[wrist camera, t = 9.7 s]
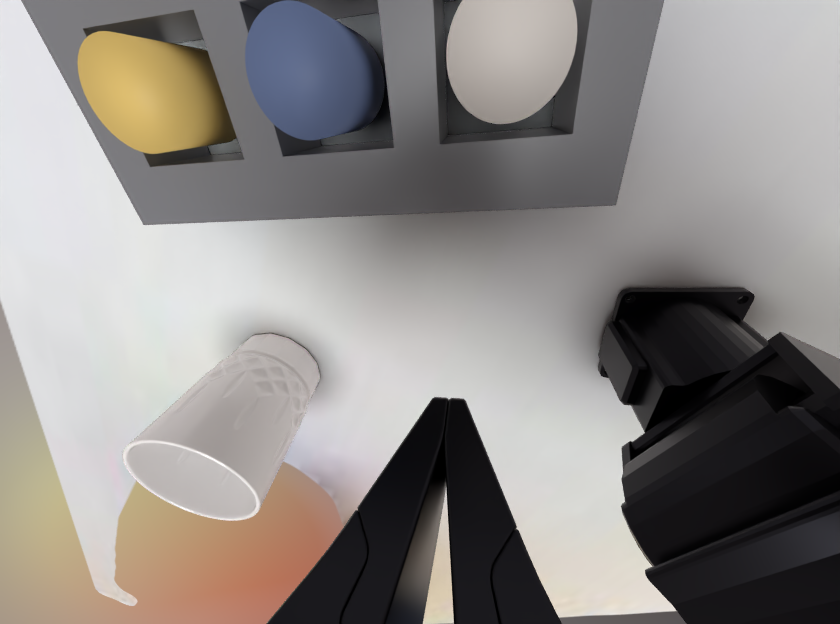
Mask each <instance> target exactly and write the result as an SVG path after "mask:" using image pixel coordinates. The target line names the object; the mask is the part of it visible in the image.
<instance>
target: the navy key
mask: <svg viewBox="0 0 840 624" xmlns="http://www.w3.org/2000/svg"><path fill="white" fill-rule="evenodd" d="M245 65H246V72H247V77H248V81H249V84H250V87H251V90H252V93H253V95H254V97H255V99H256V101H257V103H258V105H259V106H260V108H261V109H262V111H263V112H264V114H265V115H266V116H267V117H268V119H269V120H270V121H271V122H272V123H273V124H274V125H275V126H276V127H278V128H279V129H280V130H282V131H283V132H285V133H287V134H288V135H290V136H293V137H295V138H298V139H302V140H319V139H323V138H328V137H332V136H336V135H340V134H345V133H349V132H353V131H357V130H360V129H362V128H364V127H366V126H367V125H368V124H370V123H371V122H372V121H373V119H374V118H375V117H376V115H377V114H378V112H379V110H380V107H381V105H382V101H383V96H384V75H383V70H382V67H381V63H380V61H379V58H378V56H377V54H376V52H375V51H374V49H373V48H372V46H371V45H370V44H369V43H368V41H367V40H366V39H364V38H363V37H362V36H361V35H360V34H358V33H357V32H355V31H353V30H352V29H350V28H348V27H346V26H345V25H343V24H341V23H339V22H338V21H336V20H334V19H333V18H331V17H329V16H327V15H326V14H324V13H322V12H320V11H319V10H317V9H315V8H313V7H312V6H309V5H307V4H305V3H302V2H299V1H292V0H285V1H279V2H275V3H273V4H271V5H269V6H268V7H266V8H265V9H264V10H262V11H261V12H260V14H259V15H258V16H257V17H256V19H255V20H254V22H253V24H252V26H251V28H250V30H249V33H248V37H247V41H246V48H245Z"/></svg>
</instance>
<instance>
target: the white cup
mask: <svg viewBox="0 0 840 624" xmlns="http://www.w3.org/2000/svg"><path fill="white" fill-rule="evenodd" d="M319 380H320V373H319V369H318V365H317V363H316V361H315V360H314V359H313V357H312V356H311V355H310V354H309V352H308V351H307V350H306V349H305V348H303V347H302V346H300V345H299V344H297V343H296V342H294V341H292V340H291V339H289V338H286V337H282V336H279V335H275V334H271V333H269V334H260V335H253V336H252V337H250V338H249V339H248V340H247V341H245V342H244V343H243V344H242V345H240V346H239V347H238V348H237V349H236V350H235V351H234V352H233V353H232V354H231V355H230V356H228V357H227V358H225V359H223V360H222V361H220V362H219V363H218V364H217V365H216V366H215V367H214V368H213V369H212V370H210V371H209V372H208V373H206V374H205V375H204V376H203V377H202V378H201V379H200V380H199V381H198V382H196V383H195V384H194V385H193V386H192V387H191V388H190V389H189V390H188V391H187V392H186V393H184V394H183V395H182V396H181V397H180V398H179V399H178V400H177V401H176V402H174V403H173V404H172V405H171V406H170V407H169V408H168V409H167V410H166V411H165V412H164V413H162V414H161V415H160V416H159V417H158V418H157V419H156V420H155V421H154V422H153V423H151V424H150V425H149V426H148V427H147V428H146V429H145V430H144V431H143V432H141V433H140V434H139V435H138V436H137V437H136V438H135V439H134V440H133V441H131V442H130V443H129V444H128V445H127V446H126V447H125V448H124V450H123V454H122V458H123V462H124V465H125V467H126V468H127V470H128V471H129V473H130V474H131V475H132V476H133V477H134V478H135V479H136V480H137V481H138V482H139V483H140V484H141V485H142V486H144V487H145V488H146V489H147V490H149V491H150V492H152V493H153V494H155V495H156V496H158V497H159V498H161V499H163V500H165V501H167V502H169V503H171V504H173V505H175V506H177V507H179V508H181V509H184V510H186V511H189V512H192V513H195V514H198V515H201V516H205V517H209V518H214V519H219V520H230V521H235V520H244V519H248V518H251V517H252V516H254V515H255V514H257V512H258V511H259V509H260V507H261V505H262V503H263V501H264V498H265V497H266V495H267V492H268V491H269V488H270V486H271V484H272V482H273V480H274V478H275V476H276V474H277V472H278V470H279V468H280V466H281V464H282V462H283V460H284V458H285V456H286V454H287V452H288V450H289V448H290V446H291V444H292V441H293V439H294V437H295V435H296V433H297V431H298V429H299V427H300V425H301V422H302V419H303V417H304V416H305V414H306V412H307V407H308V404H309V402H310V399H311V398H312V396H313V394H314V392H315V390H316V387H317V385H318V383H319Z"/></svg>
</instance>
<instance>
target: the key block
mask: <svg viewBox="0 0 840 624" xmlns="http://www.w3.org/2000/svg"><path fill="white" fill-rule="evenodd" d="M21 1H22V3H23V4H24V6H25V8H26V10H27V12H28V14H29V15H30V17H31V19H32V21H33V23H34V25H35V26H36V28H37V30H38V32H39V34H40V36H41V37H42V39H43V41H44V43H45V45H46V47H47V48H48V50H49V52H50V54H51V56H52V58H53V59H54V61H55V63H56V65H57V67H58V69H59V70H60V72H61V74H62V76H63V78H64V80H65V81H66V83H67V85H68V87H69V89H70V91H71V92H72V94H73V96H74V98H75V100H76V102H77V103H78V105H79V107H80V109H81V111H82V113H83V114H84V116H85V118H86V120H87V122H88V124H89V126H90V127H91V129H92V131H93V133H94V135H95V137H96V138H97V140H98V142H99V144H100V146H101V148H102V149H103V151H104V153H105V155H106V157H107V159H108V160H109V162H110V164H111V166H112V168H113V170H114V171H115V173H116V175H117V177H118V179H119V181H120V182H121V184H122V186H123V188H124V190H125V192H126V193H127V195H128V197H129V199H130V201H131V203H132V204H133V206H134V208H135V210H136V212H137V214H138V215H139V217H140V219H141V221H142V223H143V225H156V224H180V223H204V222H228V221H252V220H276V219H300V218H324V217H348V216H372V215H396V214H420V213H444V212H468V211H492V210H516V209H540V208H564V207H588V206H612V205H616V202H617V198H618V194H619V190H620V185H621V181H622V177H623V173H624V168H625V164H626V160H627V156H628V151H629V147H630V143H631V139H632V134H633V130H634V126H635V122H636V117H637V113H638V109H639V105H640V100H641V96H642V92H643V88H644V83H645V79H646V75H647V71H648V66H649V62H650V58H651V54H652V49H653V45H654V41H655V37H656V32H657V28H658V24H659V20H660V16H661V11H662V7H663V3H664V0H573V3H574V7H575V11H576V18H577V42H576V48H575V53H574V57H573V60H572V64H571V66H570V69H569V71H568V74H567V76H566V78H565V79H564V81H563V83H562V85H561V86H560V88H559V89H558V91H557V92H556V94H555V102H554V110H553V119H552V127H547V128H535V129H523V130H511V131H498V132H486V133H474V134H462V135H450V136H448V131H447V100H446V69H445V39H444V8H443V2H450V1H456V0H292V1H299V2H302V3H305V4H307V5H309V6H312V7H313V8H315V9H317V10H319V11H320V12H322V13H324V14H326V15H327V16H329V17H331V18H333V19H338V18H344V17H351V16H358V15H364V14H371V13H377V12H379V18H380V27H381V36H382V45H383V53H384V62H385V71H386V80H387V89H388V98H389V107H390V116H391V125H392V134H393V140H389V141H376V142H364V143H352V144H340V145H328V146H321V143H320V139H319V140H302V139H298V138H295V137H293V136H290V135H288V134H287V133H285V132H283V131H282V130H280V129H279V128H278V127H276V126H275V125H274V124H273V123H272V122H271V121H270V120H269V119H268V117H267V116H266V115H265V114H264V112H263V111H262V109H261V108H260V106H259V105H258V103H257V101H256V99H255V97H254V95H253V93H252V90H251V87H250V84H249V81H248V77H247V72H246V65H245V48H246V41H247V37H248V33H249V30H250V28H251V26H252V24H253V22H254V20H255V19H256V17H257V16H258V15H259V14H260V12H261V11H262V10H264V9H265V8H266V7H268V6H269V5H271V4H273V3H275V2H279V1H285V0H21ZM98 31H110V32H116V33H121V34H126V35H131V36H136V37H142V38H147V39H152V40H157V41H162V42H167V43H180V42H187V41H193V40H200V39H204V42H205V45H206V48H207V51H208V54H209V57H210V60H211V63H212V65H213V68H214V71H215V74H216V77H217V80H218V83H219V86H220V89H221V92H222V95H223V98H224V101H225V104H226V107H227V110H228V113H229V116H230V118H231V121H232V124H233V127H234V130H235V133H236V136H237V139H238V142H239V145H240V148H241V151H242V153H230V154H218V155H210V153H209V150H208V147H207V146H202V147H196V148H189V149H183V150H177V151H171V152H164V153H158V154H149V153H144V152H141V151H138V150H135V149H133V148H131V147H130V146H128V145H126V144H125V143H123V142H122V141H120V140H119V139H118V138H117V137H115V136H114V135H113V134H112V133H111V132H110V131H109V130H108V129H107V128H106V127H105V126H104V124H103V123H102V122H101V121H100V119H99V118H98V117H97V115H96V114H95V112H94V111H93V109H92V107H91V106H90V104H89V102H88V100H87V98H86V96H85V94H84V91H83V88H82V86H81V82H80V78H79V73H78V53H79V49H80V46H81V44H82V43H83V41H84V39H86V38H87V37H88V36H89V35H91V34H92V33H95V32H98Z"/></svg>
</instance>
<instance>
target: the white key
mask: <svg viewBox="0 0 840 624" xmlns="http://www.w3.org/2000/svg"><path fill="white" fill-rule="evenodd" d="M576 42H577V18H576V11H575V7H574V3H573V0H462V2H461V3H460V5H459V7H458V9H457V11H456V13H455V16H454V18H453V21H452V24H451V27H450V31H449V35H448V41H447V49H446V61H447V71H448V76H449V80H450V83H451V86H452V89H453V91H454V93H455V95H456V97H457V98H458V100H459V102H460V103H461V104H462V105H463V107H464V108H465V109H466V110H467V111H468V112H469V113H471V114H472V115H474V116H475V117H476V118H478V119H481V120H483V121H486V122H489V123H494V124H508V123H514V122H517V121H520V120H523V119H525V118H527V117H529V116H531V115H533V114H534V113H536V112H537V111H538V110H540V109H541V108H542V107H544V106H545V105H546V104H547V103H548V102H549V101H550V100H551V98H552V97H553V96H554V95H555V94H556V92H557V91H558V89H559V88H560V86H561V85H562V83H563V81H564V79H565V78H566V76H567V74H568V71H569V69H570V66H571V64H572V60H573V57H574V53H575V48H576Z"/></svg>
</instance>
